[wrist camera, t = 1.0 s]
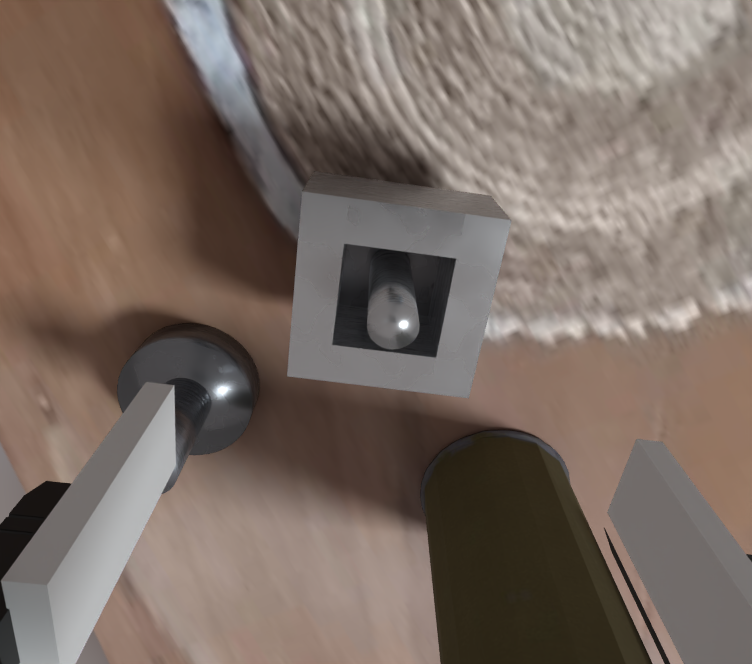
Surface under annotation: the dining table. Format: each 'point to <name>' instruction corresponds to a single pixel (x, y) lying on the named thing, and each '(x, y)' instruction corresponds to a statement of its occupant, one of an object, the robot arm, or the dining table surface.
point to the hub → (196, 386)
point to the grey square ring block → (401, 233)
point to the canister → (520, 561)
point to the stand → (389, 291)
